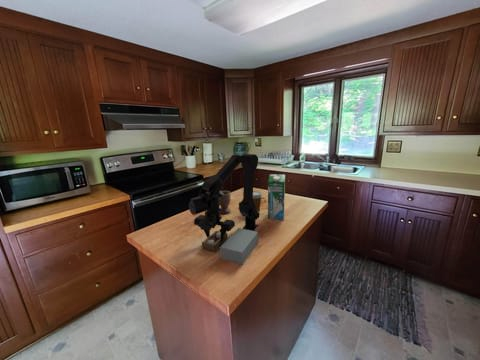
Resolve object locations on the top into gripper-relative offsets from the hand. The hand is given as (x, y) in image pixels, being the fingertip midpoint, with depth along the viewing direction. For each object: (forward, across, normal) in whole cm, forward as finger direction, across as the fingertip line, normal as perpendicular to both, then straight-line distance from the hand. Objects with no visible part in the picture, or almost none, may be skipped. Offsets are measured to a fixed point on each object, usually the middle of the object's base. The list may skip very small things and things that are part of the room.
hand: (215, 239), depth 96 cm
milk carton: (+3, +18, +40) cm, 44 cm away
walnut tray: (+3, 0, 0) cm, 3 cm away
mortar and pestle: (+3, -15, +33) cm, 37 cm away
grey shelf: (+2, +13, 0) cm, 13 cm away
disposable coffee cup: (+3, +3, +43) cm, 43 cm away
